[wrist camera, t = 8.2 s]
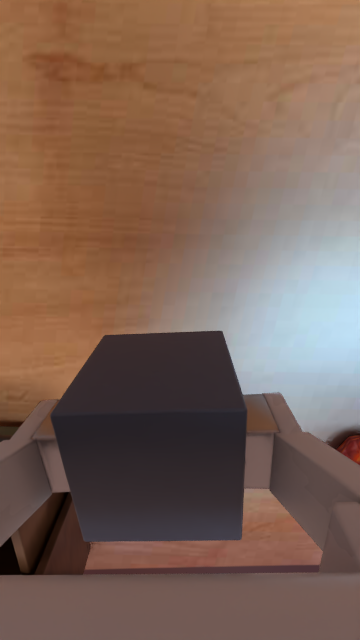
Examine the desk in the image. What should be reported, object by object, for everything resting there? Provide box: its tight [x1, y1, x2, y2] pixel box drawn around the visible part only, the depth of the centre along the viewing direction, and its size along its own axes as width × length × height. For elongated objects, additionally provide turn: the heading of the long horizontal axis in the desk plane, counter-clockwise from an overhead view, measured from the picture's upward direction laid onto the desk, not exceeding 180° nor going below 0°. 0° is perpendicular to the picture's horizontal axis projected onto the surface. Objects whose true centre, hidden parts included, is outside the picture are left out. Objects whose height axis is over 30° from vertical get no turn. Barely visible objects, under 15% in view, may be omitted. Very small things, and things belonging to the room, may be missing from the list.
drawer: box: [0, 426, 68, 575], centre depth 27 cm, size 16×9×9 cm, turn 178°
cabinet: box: [34, 492, 90, 575], centre depth 31 cm, size 14×10×11 cm
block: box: [50, 331, 247, 542], centre depth 8 cm, size 4×4×4 cm
